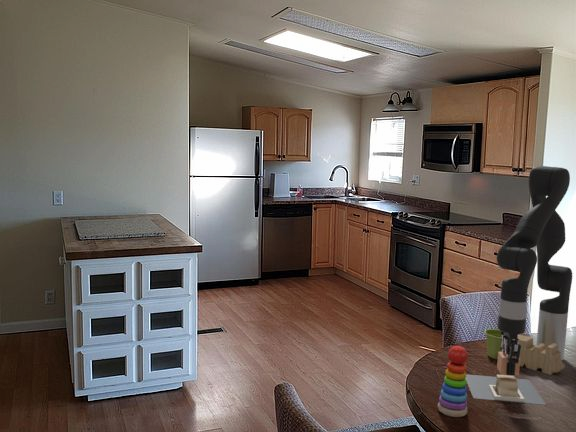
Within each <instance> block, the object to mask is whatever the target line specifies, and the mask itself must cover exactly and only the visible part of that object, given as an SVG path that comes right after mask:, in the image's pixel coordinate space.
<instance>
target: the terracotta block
mask: <svg viewBox="0 0 576 432" xmlns="http://www.w3.org/2000/svg"><path fill="white" fill-rule="evenodd" d="M512 359H514V356H512ZM496 361H497V362H496V363H497V365H496V368H497V370H498V372H499V375H507V374H506V368H507V354H505V352H498V359H497V360H496ZM520 367H521V366H520V358H519V362H518V363H515V375H514V377H515V376H517V377H519V376H520Z"/></svg>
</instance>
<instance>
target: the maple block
mask: <svg viewBox="0 0 576 432" xmlns="http://www.w3.org/2000/svg"><path fill="white" fill-rule="evenodd" d="M495 375H496V376H495V377H496V387H495V391H496V393H497V395H500V396H511V397H517V394H518V381H517V380H516V379H517V378H516V377H515V375H514V376H511V375H503V374H495Z"/></svg>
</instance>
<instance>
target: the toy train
mask: <svg viewBox="0 0 576 432" xmlns="http://www.w3.org/2000/svg"><path fill="white" fill-rule="evenodd" d="M518 339H519V345H521V350H520V356H519V358H520V367H524V366H525V368H527V369H529V370H533V371H538V370H539V369H541V372H542V374H543V373H544V374H545V375H546V374H547V375H550V376H552V375H553V374H555V373H559V372H560V371H562V370H564V369H565V368H566V366H565V364H564V363H563V361H561V352H560V351H558V346H559V344H555V343H553V344H551V345H549V346H548V347H546V345H545V344H543V343H542V344H540V345H538V346H536V345H535V344H534V338H533V337H530V336H525V335H522V334H519V335H518Z"/></svg>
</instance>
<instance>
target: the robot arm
mask: <svg viewBox="0 0 576 432" xmlns="http://www.w3.org/2000/svg"><path fill="white" fill-rule="evenodd" d="M570 183H571V176H570V172H569V170H568V169H567V168H564V167H559V166H558V167H557V166H547V165H546V166H545V165H536V166H535V165H534V167H532V168H531V170H530V172H529V175H528V189H529V195H530V200H531V205H532V207H531V208H530V209H529V210H528V211H526V212H525V213H524V214H522V217H521V218H520V220H519V221H518V224H517V226H516V228H515V230H514V232H513V234H512V235H511V236H510V237H509V238H508V239H507V240H506V241H505V242H504V243H503V244H502V245H501V246H500V248H499V249H498V251H497V255H496V263H497V265H498V266H499V268H501V269H503V270H507V271H512V272H513V271H514V272H519V275H518V277H507V278H504V279H503V280H502V281H501V282H502V283H501V287H500V288H501V291H500V298H499V299H500V300H499V305H498V316H497V329H498V330H500V331H501V347H500V349H501V351H502V352H505V354H507V368H506V374H507V375H509V376H514V377H515V363H518V362H519V356H520V350H521V345H519V339H518V335H522V334H524V333H525V332H526V324H527V316H528V315H527V314H528V313H527V312H528V305H527V304H528V303H527V301H528V299H527V298H528V289H529V285H530V282H531V278H532V276H533V273H534V271H535V269H537V270H536V277H537V278H536V280H537V286H538V287H539V289H540V290H544V291H549V292H555V293H558V296H555V297H552V298H546V299H542V300H541V301H540V302H539V308H538V309H539V311H538V321H537V322H538V323H537V335H536V346H538V345H540V344H542V343H543V344H545V345H546V347H548V346H549V345H551V344H553V343H555V344H559V346H558V351H560V352H561V361H562V362H563V361H564V359H565V349H566V340H567V339H566V338H567V329H568V316H569V308H570V307H569V306H570V294H571V291H572V290H571V289H572V283H573V270H572V269H571V268H570V267H568V266H561V265H554V264H549V262H550V260H551V259H552V258H553V257H554V256H555V255H556V254H557V253H558V252H559V251H560V250H561V249H562V248H563V247H564V245H565V243H566V226H565V222H564V220H563V218H562V217H561V215H560V214H559V213H558V212H557V211H556V210H557V208H558V207H559V205H560V203H561V202H562V201H563V199H564V197H565V195H566V194H567V192H568V190H569V187H570ZM533 248H536V252H535V250H534V249H533ZM504 344H505V345H504ZM512 356H514V359H512Z"/></svg>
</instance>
